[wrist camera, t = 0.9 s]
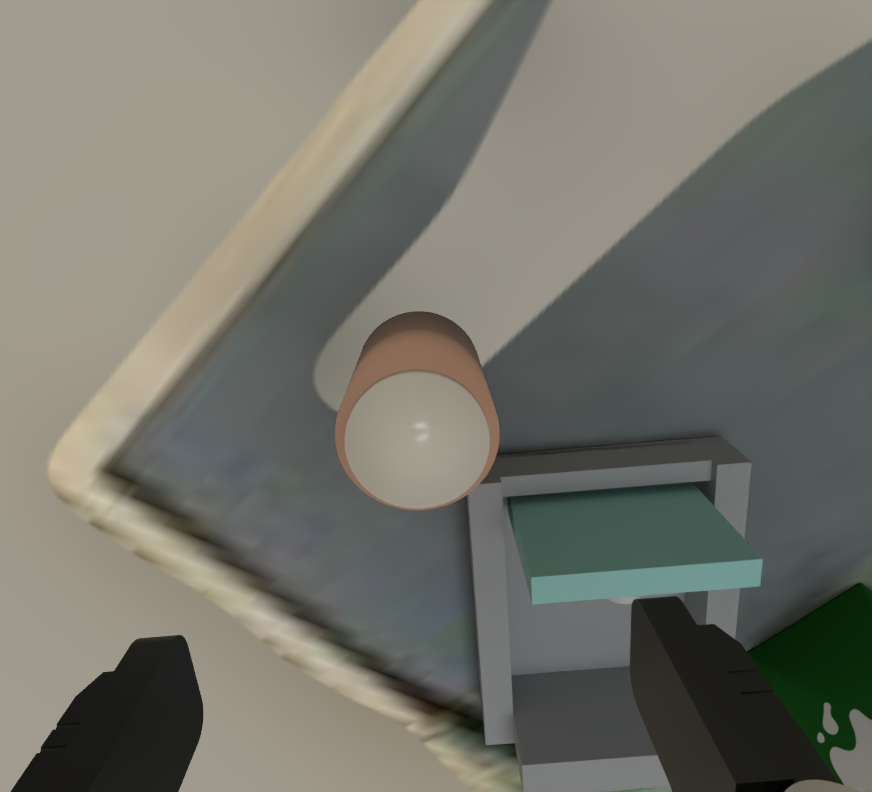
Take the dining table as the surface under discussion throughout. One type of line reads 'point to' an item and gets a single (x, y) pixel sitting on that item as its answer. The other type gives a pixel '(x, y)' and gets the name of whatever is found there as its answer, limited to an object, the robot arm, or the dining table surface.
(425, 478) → the jar
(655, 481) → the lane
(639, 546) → the plate
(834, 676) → the milk carton
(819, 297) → the dining table surface
